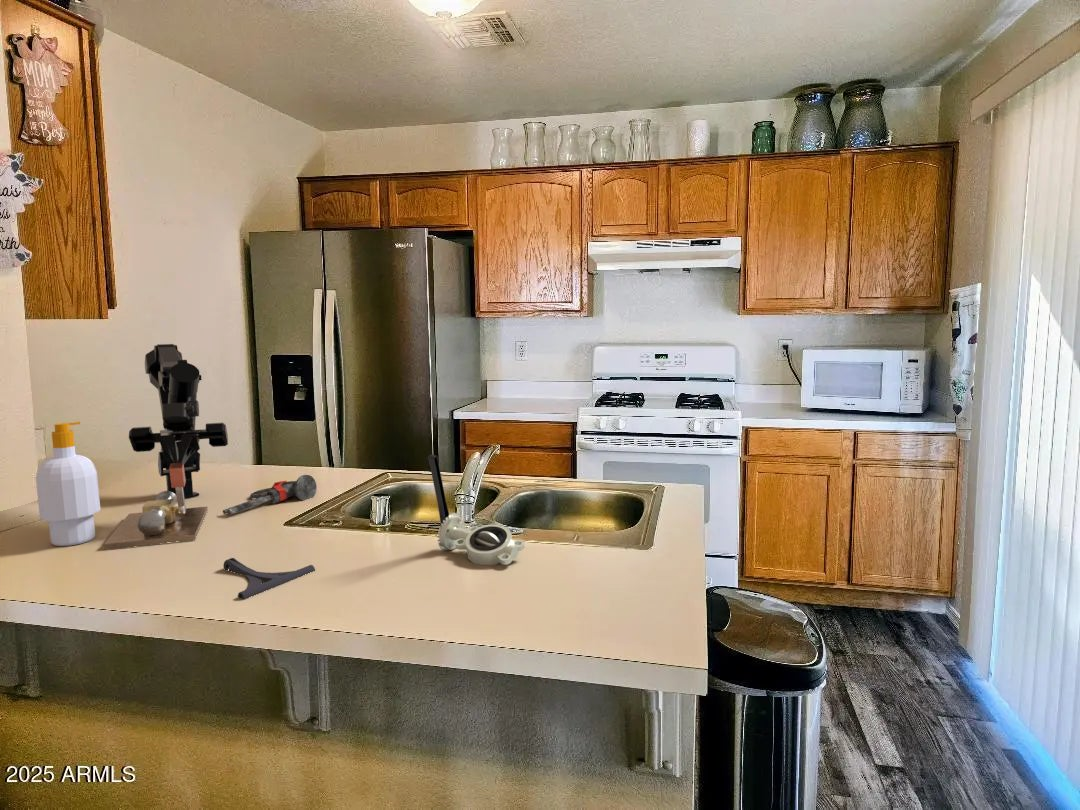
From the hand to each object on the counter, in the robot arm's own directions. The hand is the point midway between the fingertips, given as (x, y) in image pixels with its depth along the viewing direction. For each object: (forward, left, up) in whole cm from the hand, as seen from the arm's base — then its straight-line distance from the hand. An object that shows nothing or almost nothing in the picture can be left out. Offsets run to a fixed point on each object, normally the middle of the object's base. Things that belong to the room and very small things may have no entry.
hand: (178, 469), depth 146 cm
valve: (-4, +23, -14) cm, 27 cm away
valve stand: (-3, -3, -13) cm, 14 cm away
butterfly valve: (+64, +23, -13) cm, 69 cm away
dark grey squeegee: (+38, -7, -14) cm, 41 cm away
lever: (-1, +1, -10) cm, 10 cm away
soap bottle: (-10, -17, -13) cm, 24 cm away
